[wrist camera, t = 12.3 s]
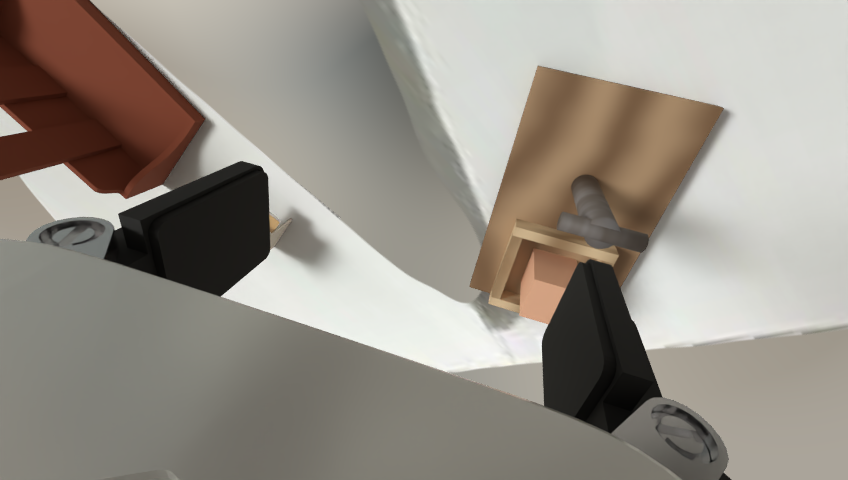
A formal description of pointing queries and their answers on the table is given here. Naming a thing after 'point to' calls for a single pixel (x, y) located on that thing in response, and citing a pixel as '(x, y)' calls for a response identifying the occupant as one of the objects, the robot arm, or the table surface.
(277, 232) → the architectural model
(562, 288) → the salmon orange block
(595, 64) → the table surface
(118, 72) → the red dustpan
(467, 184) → the table surface
